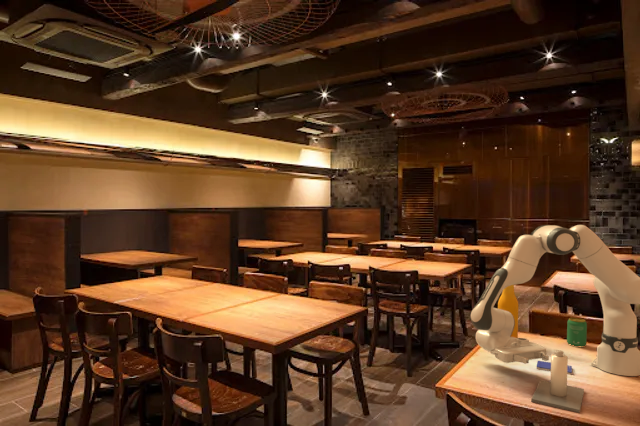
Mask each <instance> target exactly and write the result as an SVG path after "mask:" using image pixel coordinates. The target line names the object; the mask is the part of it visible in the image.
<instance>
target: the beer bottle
mask: <svg viewBox="0 0 640 426" xmlns="http://www.w3.org/2000/svg"><path fill="white" fill-rule="evenodd" d="M497 301H498V303H497V309H502V310H505V311H509V312H510V313H511V314H512V315H513V317H514V320H515V326H514V330H513V332H512V335H511V337H515V338H519V335H518V334H519V307H520V306H519V300H518V299H517V296H516V294H515V284H514V285H510V286H508V287H506V288H505V289H503V291H502V292H501V294H500V296H499V298H498V300H497Z"/></svg>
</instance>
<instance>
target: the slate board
mask: <svg viewBox="0 0 640 426" xmlns="http://www.w3.org/2000/svg"><path fill="white" fill-rule="evenodd" d="M550 383H551V381H547V380H544V379H543V380H542V379H541V380H540V379H539V382H538V384H537V386H536V388H535V390H534V392H533V394H532V397H531V403H535V404H539V405H544V406H547V407H552V408H557V409H562V410H565V411H570V412H574V413H578V414H580V412H581V407H582V402H583V398H584V395H585V393H584V392H585V389H584V388H582V387H577V386H572V385H568V384H567V396H565V397H560V396H555V395H553V394H551V393H550Z"/></svg>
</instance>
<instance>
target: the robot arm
mask: <svg viewBox="0 0 640 426" xmlns="http://www.w3.org/2000/svg"><path fill="white" fill-rule="evenodd" d="M545 253H549V254H555V255H561V256H562V255H564V256H565V255H568V254H570V253H573V254H574V255H575V257H576V258H577V259H578V260H579V262H580V263H581V264H582V265H583V267H585V269H587V272H589V273H590V274H591V275H593V276H594V278H593V287H594V288H595V290H596V291H597V293H598V296H599V298H600V299H599V300H600V303H601V307H602V308H601V309H602V314H603V327H602V328H603V331H602V333H601V343H600V344H598V345H597V347H596V358H595V359H594V360H592V361H591V363H590V365H591V366H593V367H596V368H597V369H600V370H602V371H603V372H606V373H610V374H613V375H618V376H625V377H627V376H628V377H637V376H640V350H639V348H638V346H639V345H638V343H639V341H638V337H637V329H638V327H637V325H638V321H637V315H636V314H635V311H633V309H632V306H631V305H640V276H639V275H638V274H637V273H635V272H634V271H633V270H632V269H631V268H629V266H627V265H626V264H625V263H623V262H622V261H621V260H620V259H618V257H617V256H616V255H615V254H614V253H613V252H612V251H611V250H610V249H609V247H608V246H607V245H606V243H604V241H603V240H602V239H601V238H600V237H599V236H598V235H597V234H596V233H595V232H594V231H593V230H592V229H590V228H589V227H587V226H586V225H585V224H577V225H574V226H573V225H572V226H571V227H570V228H567V227H562V226H560V225H555V224H554V225H550V224H543V225H540V226H537V227H536V228H535V230H533V231H532V232H531V233H530V234H523V235H520V236H519V237H518V238H517V239H516V241H515V243H514V244H513V246H512V248H511V250H510V252H509V254H508V257H507V260H506V261H505V263H504V264H503V265H502V266H501V268H498V269H497V270H496V271H495V272H494V274H493V275H492V277H491V279H490V280H489V282H488V284H486V285H487V286H486V287H485V289H484V291H483V293H482V295H481V296H480V298H479V300H478V301H477V303H476V304H475V305H474V306H473V307H472V310H471V311H470V313H469V316H470V321H471V323H472V326H473V327H474V328H475V329H477V331H476V333H475V342H476V343H477V344H478V346H479V347H480V348H482V349H483V350H484V351H487V352H489V353H490V354H492V355H494V358H495V359H497V360H499V361H501V362H503V363H506V364H509V363H516V362H518V363H521V364H525V365H526V364H529V363H530V362H529V361H532V360H538V359H541V360H542V361H544V362H549V361H550V357H549V355H547V351H548V350H547V348H546V347H545V346H544V345H541V344H539V343H536V342H534V341H530V339H528V338H525V337H524V338H522V337H518V338H515V337H511V335H512V332H513V330H514V326H515V320H514V317H513V315H512V314H511V313H510V312H509V311H505V310H502V309H498V307H497V308H496V307H495V304H496V302H497V301H498V300H499V298H500V297H501V295H502V292H503V289H505V288H506V287H508V286H510V285H514V286H515V285H521V284H525V283H527V282H529V281H531V279H532V278H533V277H534V275H535V272H536V270H537V267H538V264H539V262H540V259H541V257H542V256H543V255H544V254H545Z"/></svg>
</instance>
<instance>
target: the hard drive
mask: <svg viewBox="0 0 640 426" xmlns="http://www.w3.org/2000/svg"><path fill="white" fill-rule="evenodd" d="M536 363H537V364H536V370H541V371H542V370H543V371H547V372H551V361H550V362H549V361H544V360H542V361H541V360H537V361H536ZM572 367H573V366H572V365H568V366H567V375H573V368H572Z"/></svg>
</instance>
